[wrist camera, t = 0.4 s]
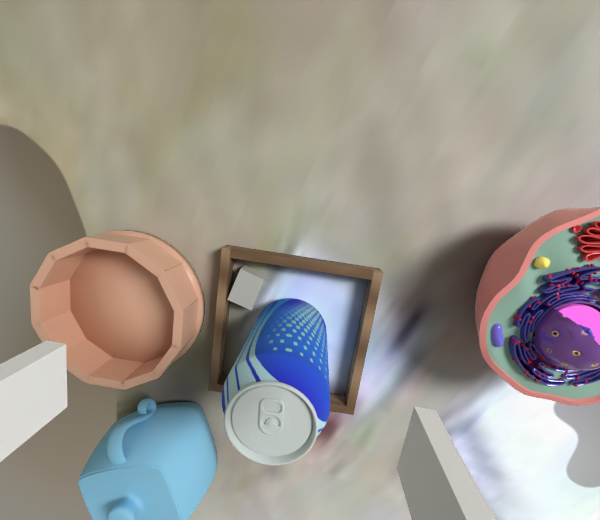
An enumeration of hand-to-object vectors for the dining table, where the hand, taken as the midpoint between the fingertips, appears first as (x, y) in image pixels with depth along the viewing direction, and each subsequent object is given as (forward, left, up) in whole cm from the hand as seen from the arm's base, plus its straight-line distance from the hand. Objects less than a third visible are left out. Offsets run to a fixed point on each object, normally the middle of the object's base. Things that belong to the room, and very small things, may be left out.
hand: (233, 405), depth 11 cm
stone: (+3, -5, -24) cm, 25 cm away
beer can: (+8, +1, -24) cm, 25 cm away
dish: (+8, -19, -24) cm, 31 cm away
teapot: (+27, -12, -24) cm, 38 cm away
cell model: (-2, +27, -24) cm, 36 cm away
